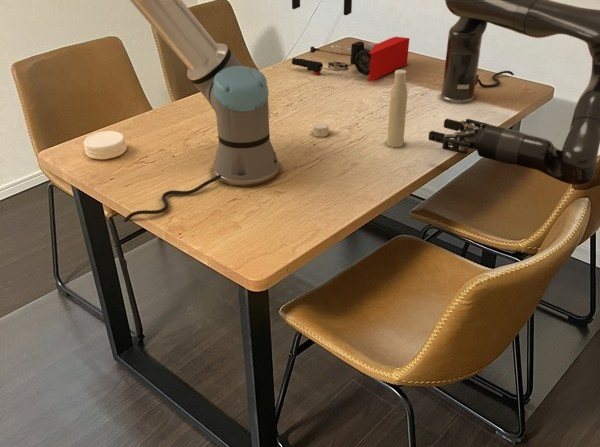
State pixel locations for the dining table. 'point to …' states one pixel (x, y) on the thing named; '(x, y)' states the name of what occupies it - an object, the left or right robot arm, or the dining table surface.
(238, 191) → the dining table surface
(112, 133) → the white round disc
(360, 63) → the electric hoist
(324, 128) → the cap
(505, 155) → the right robot arm
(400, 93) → the bottle
